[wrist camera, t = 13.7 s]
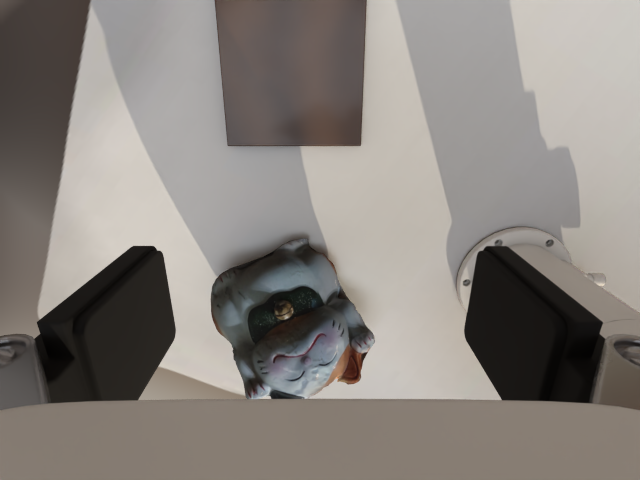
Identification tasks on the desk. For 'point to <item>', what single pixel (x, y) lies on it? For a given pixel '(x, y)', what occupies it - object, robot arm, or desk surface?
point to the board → (292, 71)
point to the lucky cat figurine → (290, 323)
